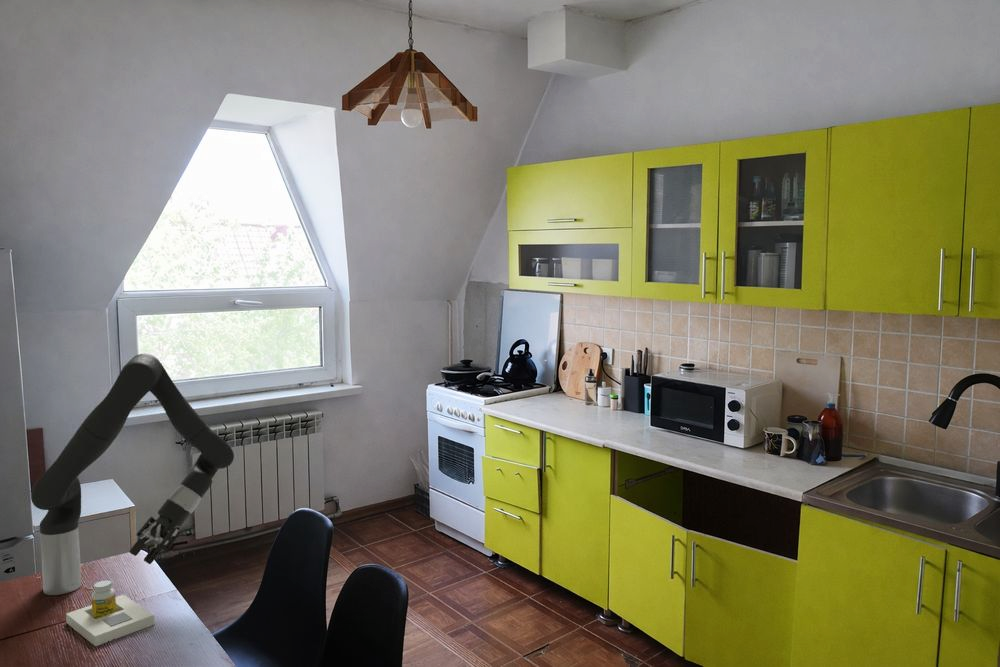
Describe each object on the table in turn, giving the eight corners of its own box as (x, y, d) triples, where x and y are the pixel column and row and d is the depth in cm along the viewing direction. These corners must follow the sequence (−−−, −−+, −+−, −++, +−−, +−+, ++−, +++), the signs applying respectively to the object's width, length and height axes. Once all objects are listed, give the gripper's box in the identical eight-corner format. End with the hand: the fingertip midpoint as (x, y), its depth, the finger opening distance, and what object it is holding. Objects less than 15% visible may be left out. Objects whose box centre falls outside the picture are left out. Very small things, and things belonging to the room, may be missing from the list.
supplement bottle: (115, 612, 188) (113, 577, 187) (117, 620, 183) (115, 584, 182) (91, 618, 185) (90, 582, 184) (93, 626, 180) (91, 589, 179)
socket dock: (66, 623, 182) (66, 612, 182) (123, 603, 193) (123, 593, 193) (95, 646, 171) (94, 635, 170) (154, 624, 181) (154, 614, 181)
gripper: (157, 493, 200) (116, 545, 192) (182, 503, 191) (140, 558, 183) (177, 507, 205) (137, 558, 197) (202, 517, 196) (162, 571, 188)
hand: (139, 558), depth 190 cm, fingers open, 8 cm apart
